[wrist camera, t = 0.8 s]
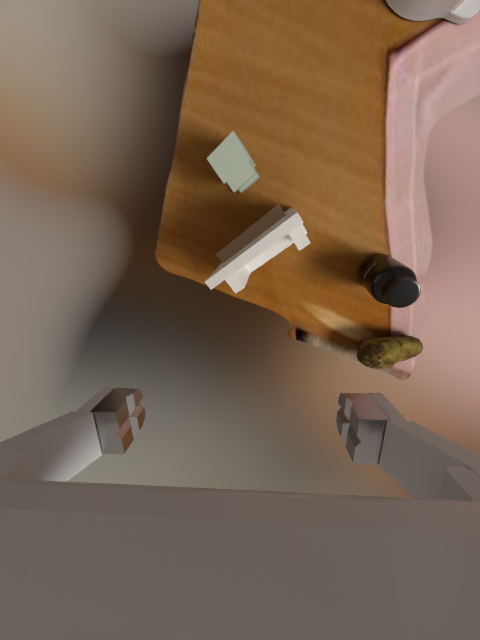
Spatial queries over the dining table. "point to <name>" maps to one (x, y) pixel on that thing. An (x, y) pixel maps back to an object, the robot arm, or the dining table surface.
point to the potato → (388, 350)
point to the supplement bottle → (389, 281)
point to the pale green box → (233, 164)
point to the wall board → (258, 247)
